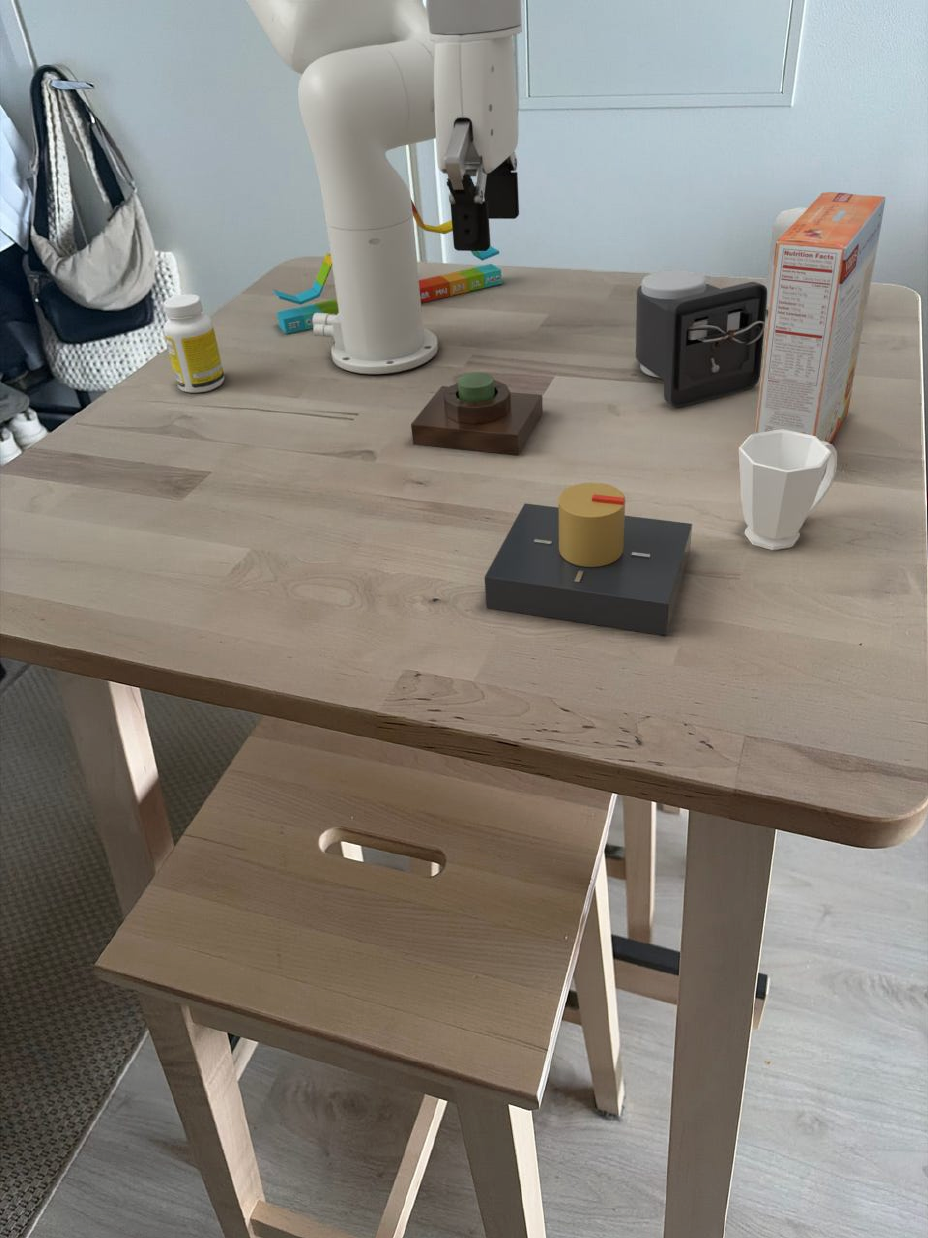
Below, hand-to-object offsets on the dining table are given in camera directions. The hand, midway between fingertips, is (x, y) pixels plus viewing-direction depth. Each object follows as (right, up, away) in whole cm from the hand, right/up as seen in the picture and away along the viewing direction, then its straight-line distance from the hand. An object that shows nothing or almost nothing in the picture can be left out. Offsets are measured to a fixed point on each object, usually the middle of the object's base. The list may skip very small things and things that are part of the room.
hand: (487, 232), depth 91 cm
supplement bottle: (-32, -8, +24) cm, 41 cm away
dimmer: (+8, -30, -13) cm, 33 cm away
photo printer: (+38, +1, +28) cm, 47 cm away
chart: (-11, +6, +40) cm, 42 cm away
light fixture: (+21, -9, +17) cm, 29 cm away
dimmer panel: (+8, -32, -11) cm, 35 cm away
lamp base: (-1, -16, +11) cm, 19 cm away
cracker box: (+30, -18, +5) cm, 35 cm away
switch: (-1, -13, +9) cm, 16 cm away
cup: (+25, -28, -7) cm, 38 cm away
